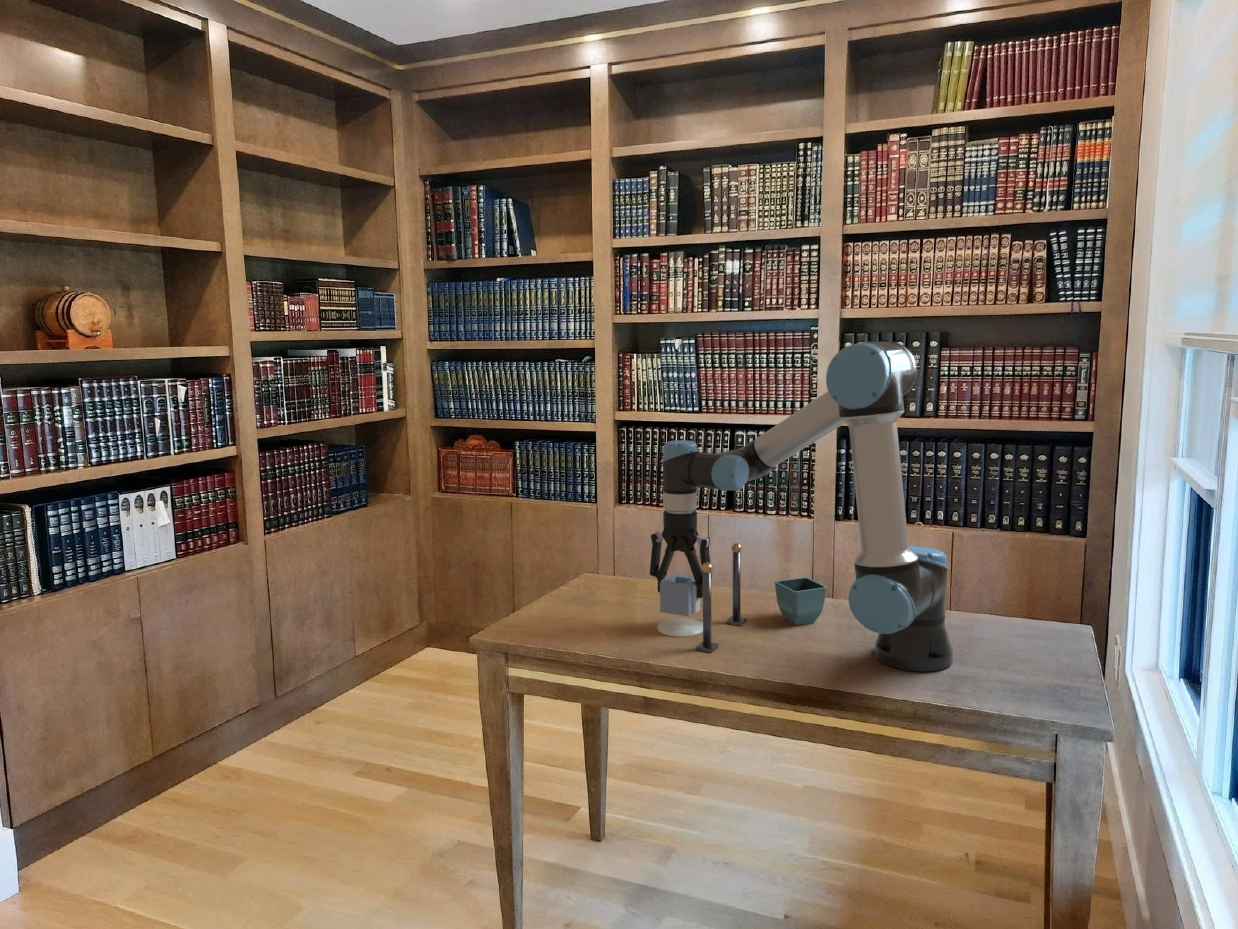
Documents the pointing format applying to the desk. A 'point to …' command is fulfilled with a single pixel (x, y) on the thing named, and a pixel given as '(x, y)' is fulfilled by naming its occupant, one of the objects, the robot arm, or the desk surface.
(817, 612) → the flower pot
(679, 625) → the white round disc
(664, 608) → the hollow square tube
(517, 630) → the desk surface
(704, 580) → the gold-tipped post pair
